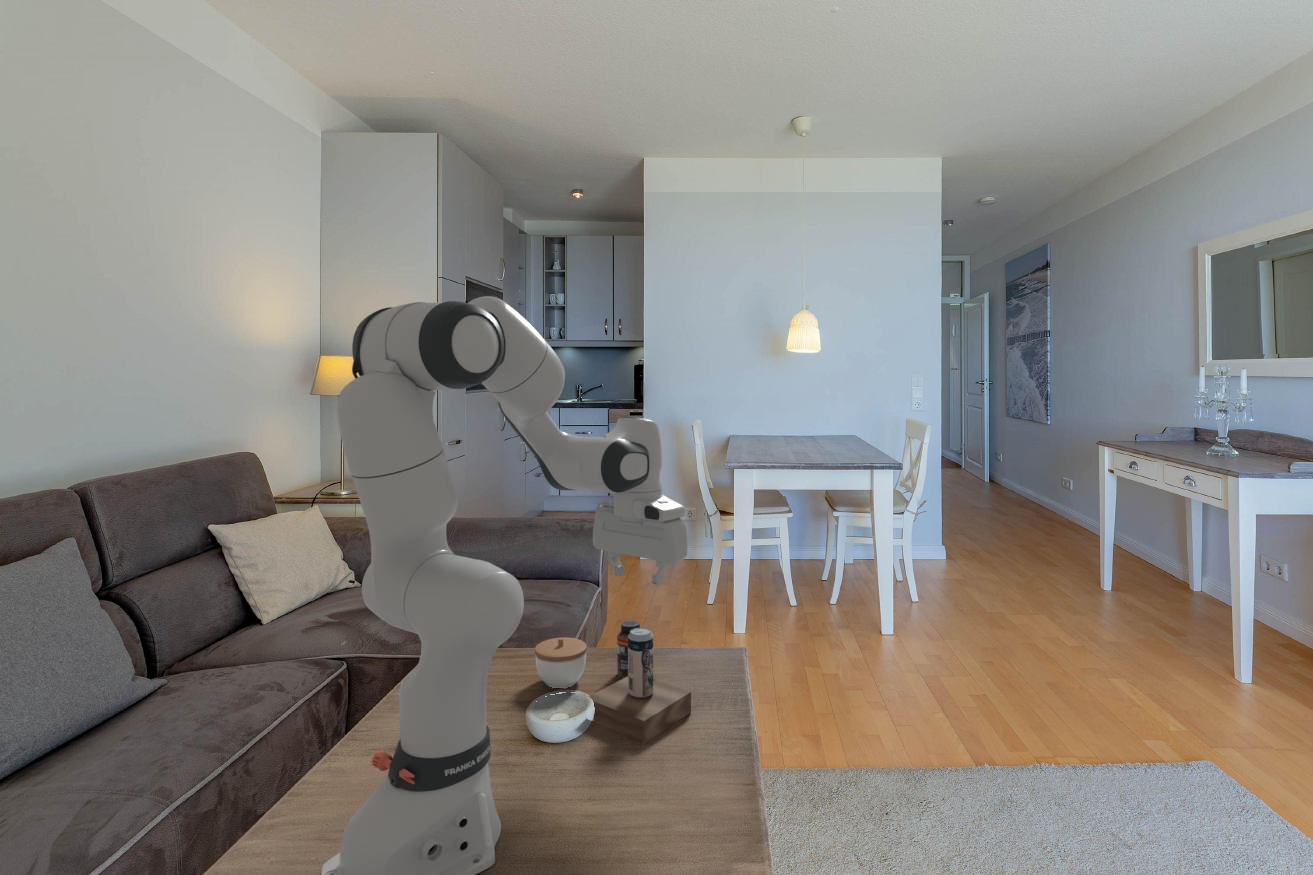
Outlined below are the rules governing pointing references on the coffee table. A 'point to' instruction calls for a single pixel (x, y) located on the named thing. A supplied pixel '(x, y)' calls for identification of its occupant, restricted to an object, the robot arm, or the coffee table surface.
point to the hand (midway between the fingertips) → (637, 579)
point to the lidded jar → (560, 661)
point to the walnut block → (640, 709)
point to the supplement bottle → (624, 646)
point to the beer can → (640, 663)
